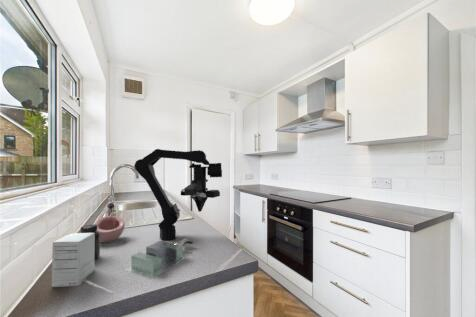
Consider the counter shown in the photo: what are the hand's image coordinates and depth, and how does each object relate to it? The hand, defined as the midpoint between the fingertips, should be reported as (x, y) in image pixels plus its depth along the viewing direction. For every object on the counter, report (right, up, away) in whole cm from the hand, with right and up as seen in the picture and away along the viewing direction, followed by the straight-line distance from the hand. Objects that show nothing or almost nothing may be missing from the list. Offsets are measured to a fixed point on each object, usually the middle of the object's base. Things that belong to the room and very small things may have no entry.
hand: (199, 211), depth 92 cm
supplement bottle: (-36, -12, -20) cm, 43 cm away
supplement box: (-31, -12, -33) cm, 47 cm away
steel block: (-10, -11, -24) cm, 28 cm away
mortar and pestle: (-40, -13, -3) cm, 42 cm away
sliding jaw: (-6, -11, -16) cm, 21 cm away
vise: (-9, -12, -23) cm, 27 cm away
